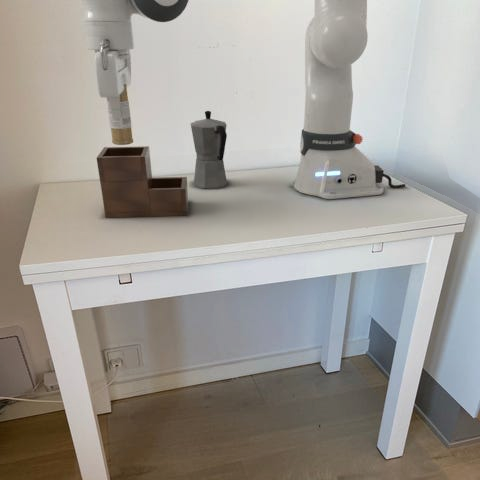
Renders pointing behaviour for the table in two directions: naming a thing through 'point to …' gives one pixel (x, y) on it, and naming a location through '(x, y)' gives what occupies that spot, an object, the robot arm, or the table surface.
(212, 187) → the coffeepot
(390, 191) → the table surface
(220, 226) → the table surface
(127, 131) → the sprinkles bottle
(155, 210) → the caddy
